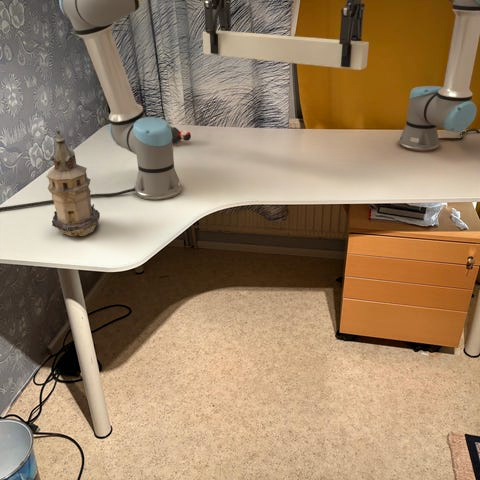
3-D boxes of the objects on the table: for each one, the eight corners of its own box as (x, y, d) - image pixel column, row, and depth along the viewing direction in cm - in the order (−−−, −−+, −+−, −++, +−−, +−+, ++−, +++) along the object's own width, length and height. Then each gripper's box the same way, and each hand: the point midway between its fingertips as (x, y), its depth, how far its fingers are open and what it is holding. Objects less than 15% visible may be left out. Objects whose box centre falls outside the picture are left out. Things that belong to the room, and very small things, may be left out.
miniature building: (80, 214, 164) (63, 117, 149) (111, 225, 157) (96, 125, 142) (44, 231, 154) (22, 130, 140) (75, 244, 147) (55, 139, 133)
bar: (203, 54, 189) (202, 31, 185) (211, 51, 193) (210, 29, 189) (360, 70, 163) (363, 44, 159) (366, 66, 167) (369, 42, 163)
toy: (131, 118, 232) (198, 118, 226) (134, 133, 235) (199, 133, 229) (107, 138, 210) (180, 138, 204) (110, 153, 213) (182, 154, 207)
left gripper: (211, -20, 168) (213, 57, 180) (241, -23, 182) (241, 48, 193) (191, -20, 172) (195, 55, 183) (222, -24, 185) (223, 47, 197)
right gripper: (356, -15, 147) (349, 71, 158) (377, -20, 160) (370, 60, 172) (331, -16, 150) (326, 69, 162) (353, -21, 164) (348, 58, 175)
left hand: (219, 52), depth 188 cm, fingers closed on bar, 5 cm apart
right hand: (348, 64), depth 167 cm, fingers closed on bar, 5 cm apart
